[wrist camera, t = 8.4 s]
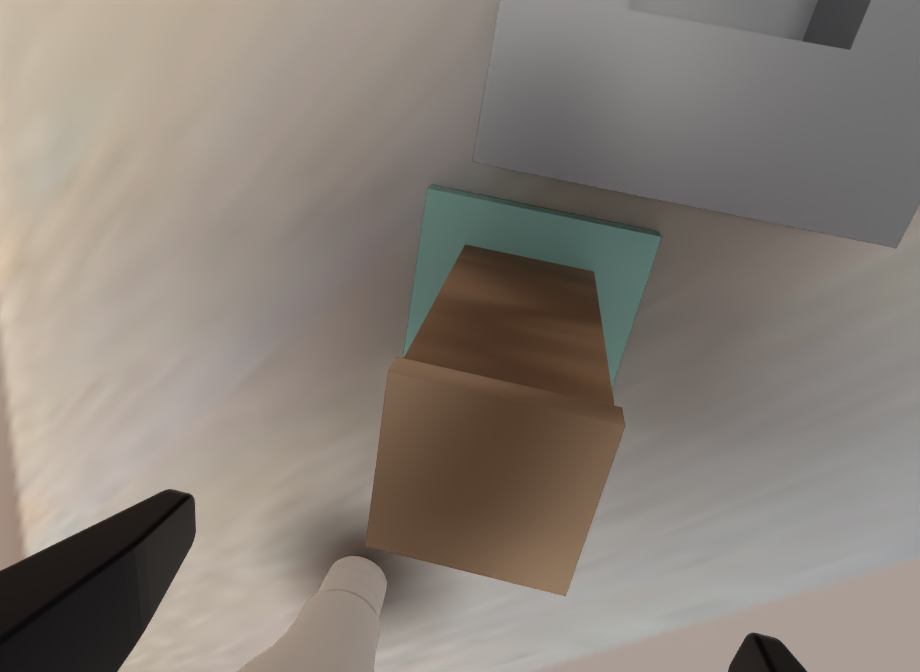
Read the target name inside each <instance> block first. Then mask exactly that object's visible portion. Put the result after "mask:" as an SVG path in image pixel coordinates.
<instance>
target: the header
mask: <svg viewBox="0 0 920 672" xmlns="http://www.w3.org/2000/svg"><path fill="white" fill-rule="evenodd" d="M472 162H474V163H479V164H484V165H489V166H494V167H499V168H504V169H509V170H514V171H518V172H523V173H528V174H533V175H538V176H543V177H548V178H553V179H558V180H563V181H568V182H573V183H578V184H582V185H587V186H592V187H597V188H602V189H607V190H612V191H617V192H622V193H627V194H632V195H637V196H641V197H646V198H651V199H656V200H661V201H666V202H671V203H676V204H681V205H686V206H691V207H696V208H701V209H705V210H710V211H715V212H720V213H725V214H730V215H735V216H740V217H745V218H750V219H755V220H760V221H765V222H769V223H774V224H779V225H784V226H789V227H794V228H799V229H804V230H809V231H814V232H819V233H824V234H828V235H833V236H838V237H843V238H848V239H853V240H858V241H863V242H868V243H873V244H878V245H883V246H888V247H892V248H897V247H898V245H899V243H900V241H901V239H902V237H903V235H904V233H905V231H906V229H907V227H908V225H909V224H910V222H911V220H912V218H913V216H914V214H915V212H916V210H917V208H918V206H919V204H920V0H500V3H499V9H498V15H497V21H496V26H495V32H494V38H493V44H492V49H491V55H490V61H489V67H488V72H487V78H486V84H485V90H484V95H483V101H482V107H481V113H480V118H479V124H478V130H477V135H476V141H475V147H474V153H473V158H472Z"/></svg>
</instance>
